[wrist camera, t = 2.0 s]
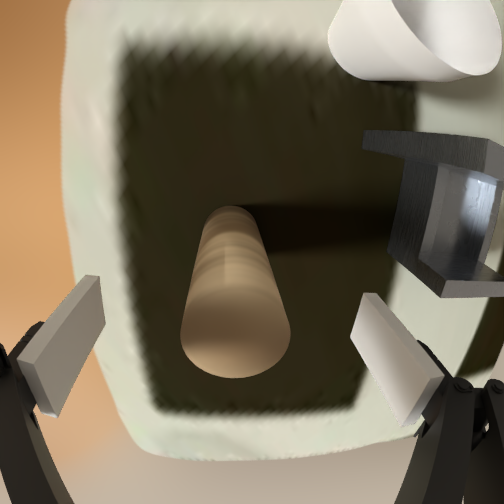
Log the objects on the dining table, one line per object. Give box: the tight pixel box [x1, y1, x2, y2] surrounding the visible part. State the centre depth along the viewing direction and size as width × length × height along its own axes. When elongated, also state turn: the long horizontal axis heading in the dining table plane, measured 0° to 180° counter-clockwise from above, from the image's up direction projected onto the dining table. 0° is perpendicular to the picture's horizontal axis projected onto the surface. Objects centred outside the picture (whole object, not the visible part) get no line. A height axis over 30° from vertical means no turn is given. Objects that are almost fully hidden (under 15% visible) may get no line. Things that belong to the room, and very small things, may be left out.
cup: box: [328, 0, 502, 82], centre depth 14 cm, size 9×9×12 cm
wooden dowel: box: [180, 206, 290, 378], centre depth 18 cm, size 4×4×14 cm
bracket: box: [362, 130, 504, 298], centre depth 19 cm, size 10×18×14 cm, turn 84°
